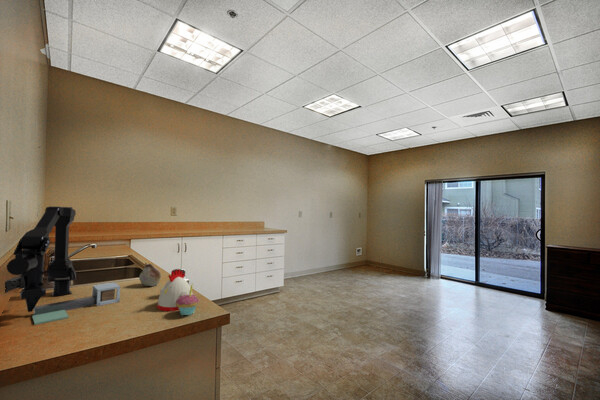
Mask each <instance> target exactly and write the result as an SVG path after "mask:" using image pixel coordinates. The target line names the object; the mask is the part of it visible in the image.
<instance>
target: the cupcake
mask: <svg viewBox="0 0 600 400" xmlns="http://www.w3.org/2000/svg"><path fill="white" fill-rule="evenodd" d="M193 286H194V284H193V283H191V285H190V287H191V288H190V294H189V295H183V296H181V297H179V298H178V299H177V300H176V303H175V305H176V306H177V307H178V308H179V313H180V315H181V316H183V315H188V316H191V315H190V314H192V313H193V314H194V313H195V311H196V308H197V306H198V305H199V302H200V299H199V297H197V296H196V295H194V294H193V295H191V292H192V293H193ZM193 314H192V315H193Z"/></svg>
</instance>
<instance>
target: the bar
mask: <svg viewBox="0 0 600 400" xmlns="http://www.w3.org/2000/svg"><path fill="white" fill-rule="evenodd" d="M101 300H102V296H100V302H101ZM96 302H97V295H96V296H92V295H91V296H85V297H80V298H75V299H69V300H64V301H58V302H53V303H47V304H41V305H36V306H35V307H34V309H33V315H39V314H44V313H49V312H54V311H60V310H65V311H66V312H67V311H70V310H76V309H82V308H86V307H91V306H96ZM33 315H32V316H33Z"/></svg>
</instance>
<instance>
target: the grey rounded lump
mask: <svg viewBox="0 0 600 400" xmlns="http://www.w3.org/2000/svg"><path fill="white" fill-rule="evenodd" d="M144 265H145V266H143V269H142V271H141V272H140V274H139V276H138V278H139V281H140V283H141V285H142V286H144V287H154V286H156V285H158V284H159V283H160V281H161V279H162V275H161V271H160V270H159V269H158V268H157V267H155V266H154V265H153V264H151V263H148V264H147V262H145V263H144Z"/></svg>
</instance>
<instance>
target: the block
mask: <svg viewBox="0 0 600 400" xmlns="http://www.w3.org/2000/svg"><path fill="white" fill-rule="evenodd" d="M115 294H116V289H111V290H105V291H101V294H100V296H102V300H101V302H102V301H107V300H112V299H116V296H115Z"/></svg>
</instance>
